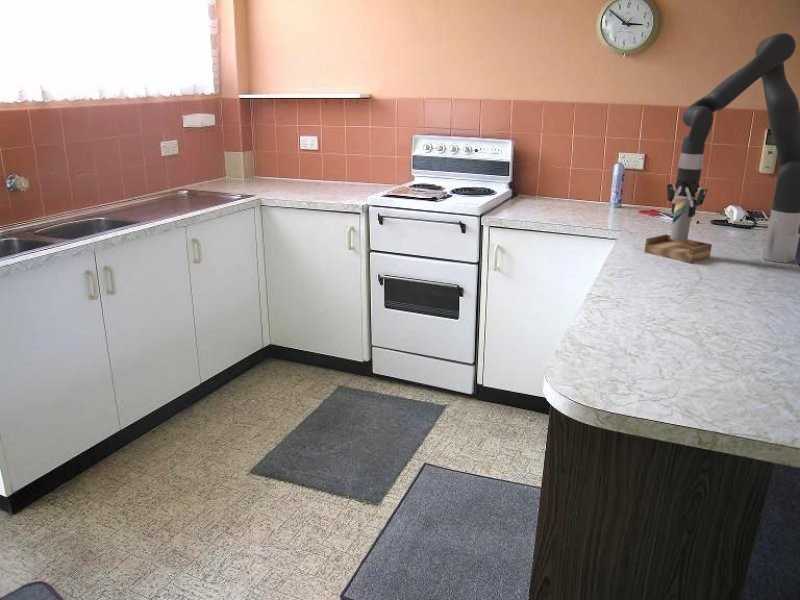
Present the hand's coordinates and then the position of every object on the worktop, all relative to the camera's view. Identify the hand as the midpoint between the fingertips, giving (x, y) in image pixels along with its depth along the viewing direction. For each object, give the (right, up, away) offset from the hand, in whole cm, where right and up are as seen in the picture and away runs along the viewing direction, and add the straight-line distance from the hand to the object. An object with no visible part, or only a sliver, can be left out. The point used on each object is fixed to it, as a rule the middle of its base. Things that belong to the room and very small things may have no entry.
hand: (682, 215), depth 233 cm
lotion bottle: (0, -8, +3) cm, 9 cm away
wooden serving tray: (0, -14, +5) cm, 14 cm away
